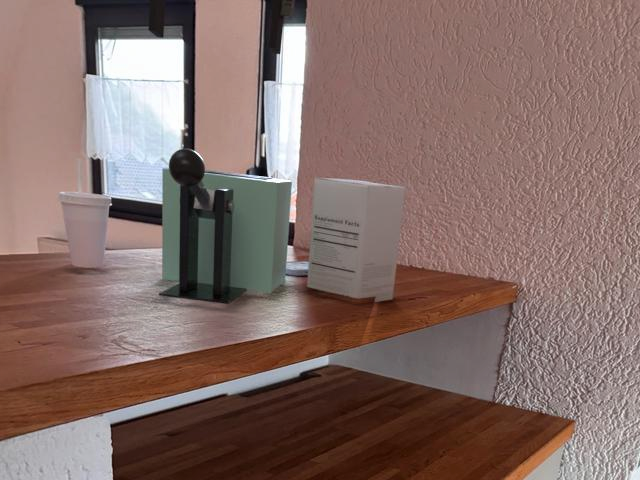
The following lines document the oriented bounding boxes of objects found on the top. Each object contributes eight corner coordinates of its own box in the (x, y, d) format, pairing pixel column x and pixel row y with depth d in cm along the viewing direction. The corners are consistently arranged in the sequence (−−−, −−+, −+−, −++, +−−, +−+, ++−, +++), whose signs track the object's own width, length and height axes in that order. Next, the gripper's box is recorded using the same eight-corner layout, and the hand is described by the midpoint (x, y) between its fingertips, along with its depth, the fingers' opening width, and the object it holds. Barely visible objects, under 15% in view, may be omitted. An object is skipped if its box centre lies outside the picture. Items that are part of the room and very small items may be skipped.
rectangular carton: (342, 289, 107) (353, 179, 101) (394, 300, 102) (408, 186, 96) (303, 293, 100) (312, 175, 94) (356, 306, 95) (369, 183, 89)
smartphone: (348, 268, 123) (295, 270, 110) (347, 274, 123) (294, 278, 111) (312, 261, 126) (257, 262, 114) (311, 267, 126) (256, 269, 114)
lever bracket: (227, 312, 83) (232, 192, 78) (158, 303, 83) (158, 183, 78) (246, 298, 92) (251, 190, 87) (184, 290, 92) (185, 182, 87)
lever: (197, 179, 72) (202, 144, 73) (162, 175, 73) (167, 139, 73) (223, 225, 85) (227, 195, 85) (192, 222, 85) (196, 191, 85)
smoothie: (68, 266, 99) (63, 154, 93) (117, 271, 100) (115, 160, 94) (56, 274, 93) (49, 154, 87) (108, 279, 94) (105, 161, 88)
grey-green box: (271, 300, 93) (278, 181, 87) (160, 286, 93) (161, 166, 87) (285, 287, 103) (293, 179, 97) (186, 275, 103) (188, 166, 98)
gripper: (99, -227, 72) (92, 16, 79) (347, -196, 71) (319, 48, 78) (128, -184, 79) (120, 36, 86) (354, -155, 78) (328, 66, 85)
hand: (215, 42), depth 82 cm, fingers open, 13 cm apart
